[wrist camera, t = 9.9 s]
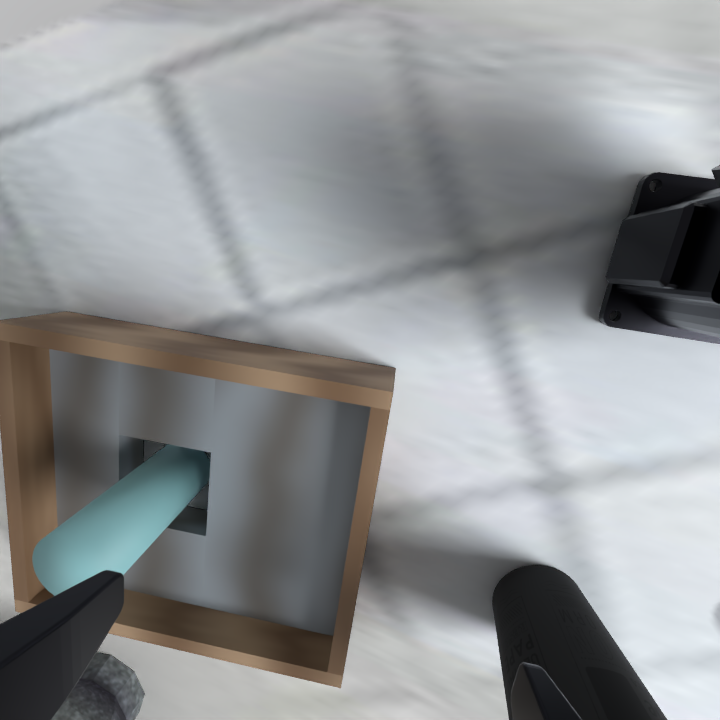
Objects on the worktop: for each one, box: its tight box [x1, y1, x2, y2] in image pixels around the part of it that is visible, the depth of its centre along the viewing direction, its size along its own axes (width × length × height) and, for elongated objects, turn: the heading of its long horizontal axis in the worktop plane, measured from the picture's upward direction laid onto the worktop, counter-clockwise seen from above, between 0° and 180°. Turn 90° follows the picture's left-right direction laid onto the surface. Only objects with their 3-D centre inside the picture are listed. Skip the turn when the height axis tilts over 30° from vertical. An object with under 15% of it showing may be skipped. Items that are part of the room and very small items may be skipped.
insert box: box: [0, 311, 396, 688], centre depth 21 cm, size 18×16×4 cm
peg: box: [32, 444, 210, 596], centre depth 19 cm, size 3×3×8 cm
